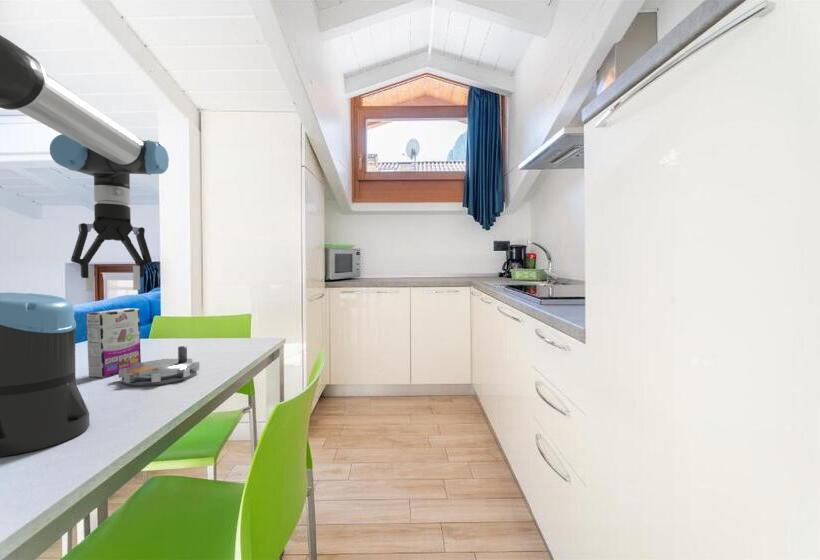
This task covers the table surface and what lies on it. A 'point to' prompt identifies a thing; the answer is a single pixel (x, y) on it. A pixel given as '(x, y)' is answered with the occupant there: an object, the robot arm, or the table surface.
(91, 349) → the candy bar box
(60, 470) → the table surface
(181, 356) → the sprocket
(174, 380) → the bearing base
